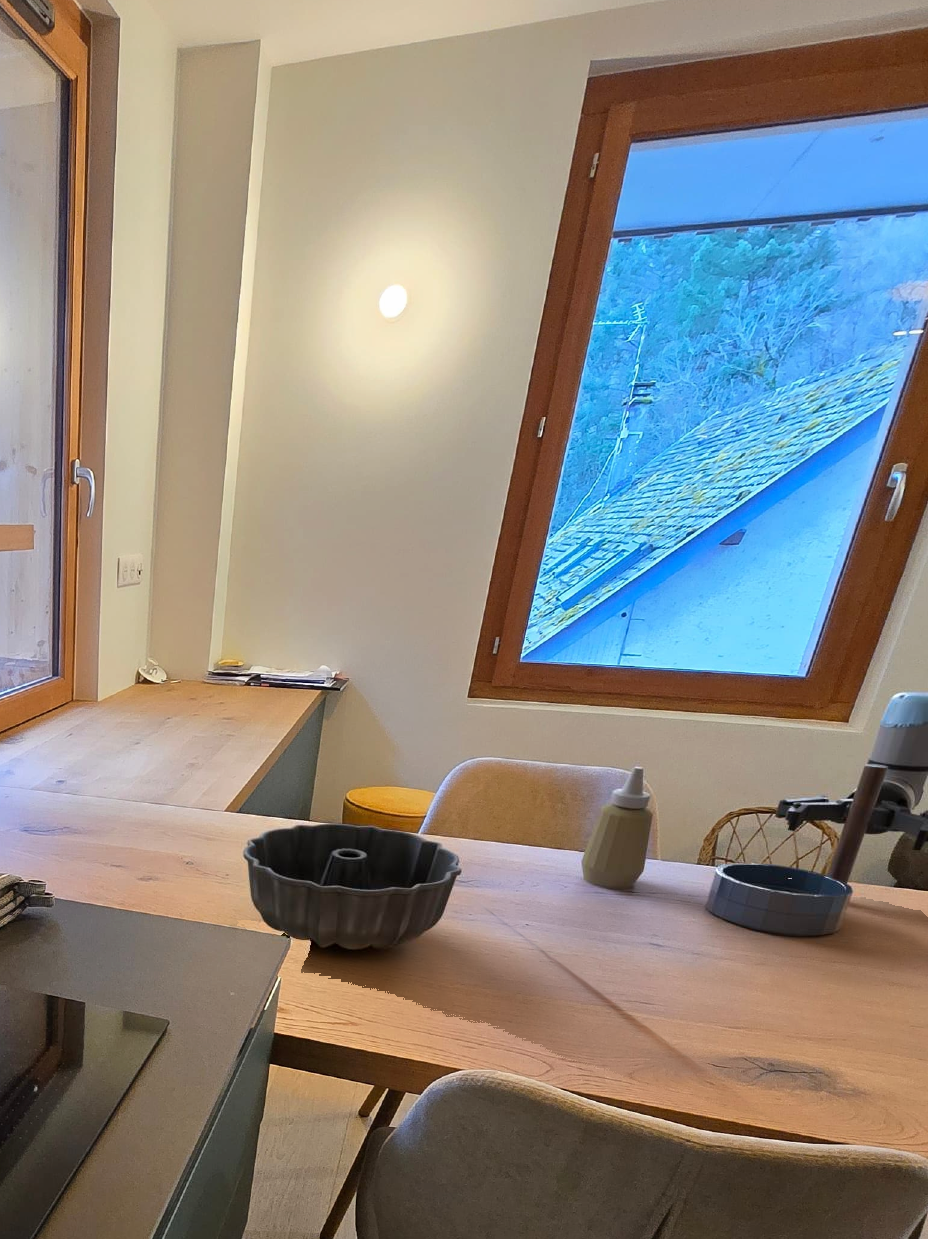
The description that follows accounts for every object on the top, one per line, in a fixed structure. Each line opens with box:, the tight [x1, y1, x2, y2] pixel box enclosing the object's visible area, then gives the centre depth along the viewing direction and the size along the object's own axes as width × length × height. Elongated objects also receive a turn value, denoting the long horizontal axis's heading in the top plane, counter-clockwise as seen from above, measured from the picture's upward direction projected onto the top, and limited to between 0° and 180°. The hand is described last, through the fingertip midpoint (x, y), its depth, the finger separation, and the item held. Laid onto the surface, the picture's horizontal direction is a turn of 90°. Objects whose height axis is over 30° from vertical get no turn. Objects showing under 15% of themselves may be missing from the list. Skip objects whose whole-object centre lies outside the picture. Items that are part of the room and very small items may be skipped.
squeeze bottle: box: [581, 766, 654, 890], centre depth 137 cm, size 8×8×18 cm
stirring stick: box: [826, 763, 888, 884], centre depth 130 cm, size 5×5×20 cm
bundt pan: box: [242, 823, 463, 951], centre depth 124 cm, size 26×26×10 cm
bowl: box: [704, 862, 854, 938], centre depth 128 cm, size 15×15×6 cm
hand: (854, 830), depth 131 cm, fingers open, 13 cm apart
